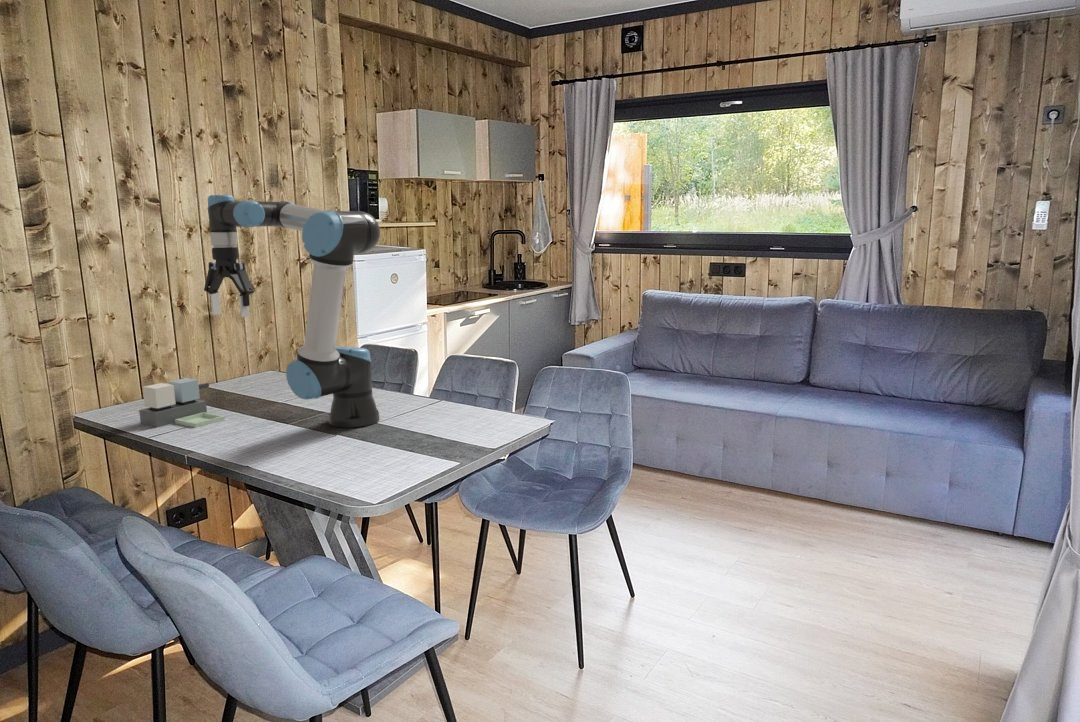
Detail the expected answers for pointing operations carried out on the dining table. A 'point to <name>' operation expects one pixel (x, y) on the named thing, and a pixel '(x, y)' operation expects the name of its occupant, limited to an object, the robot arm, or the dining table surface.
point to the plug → (159, 396)
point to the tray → (199, 419)
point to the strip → (177, 404)
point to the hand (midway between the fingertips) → (230, 315)
